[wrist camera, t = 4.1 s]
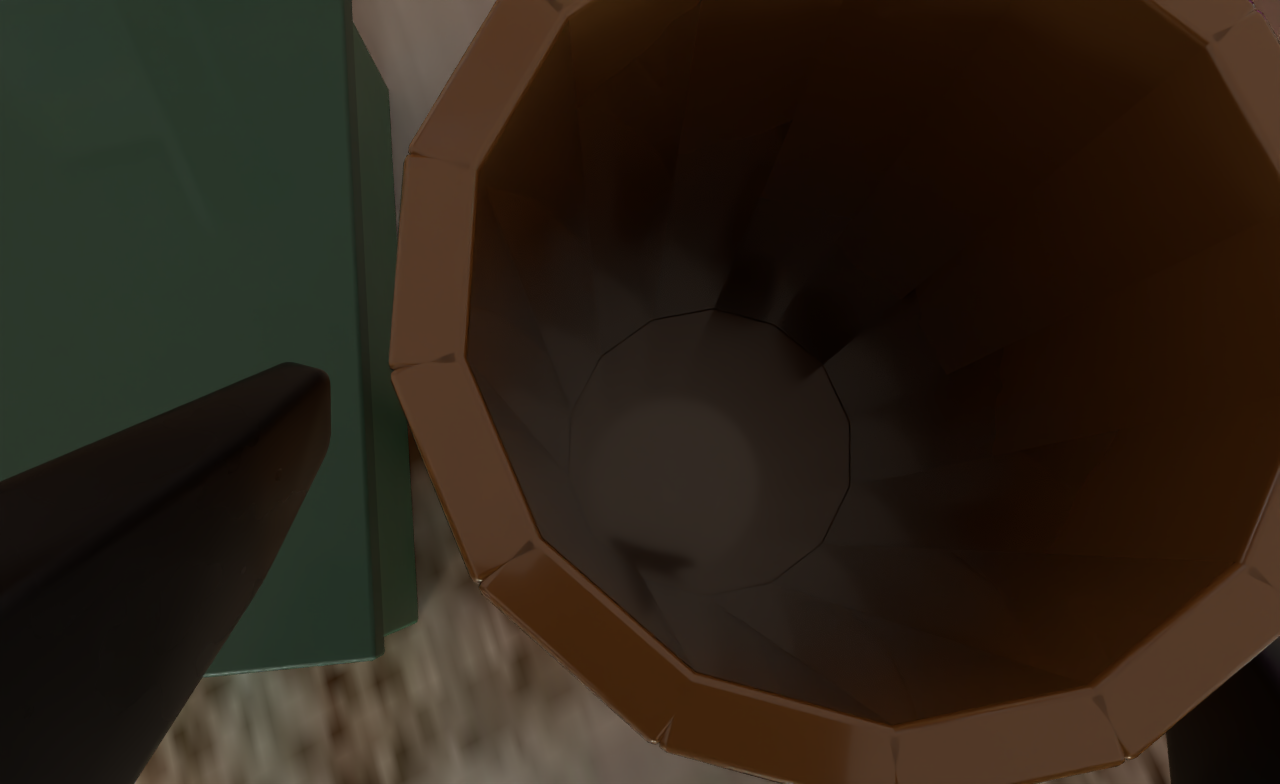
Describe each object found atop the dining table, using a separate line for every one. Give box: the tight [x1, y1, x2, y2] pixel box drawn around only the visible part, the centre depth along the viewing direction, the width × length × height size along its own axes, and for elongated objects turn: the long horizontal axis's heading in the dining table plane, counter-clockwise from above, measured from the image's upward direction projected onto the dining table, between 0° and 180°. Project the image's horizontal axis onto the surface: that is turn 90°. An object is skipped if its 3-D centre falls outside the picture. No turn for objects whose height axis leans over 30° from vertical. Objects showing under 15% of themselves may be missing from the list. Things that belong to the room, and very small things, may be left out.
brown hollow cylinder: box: [388, 0, 1280, 784], centre depth 12 cm, size 6×6×12 cm
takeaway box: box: [0, 0, 418, 678], centre depth 16 cm, size 11×11×4 cm
